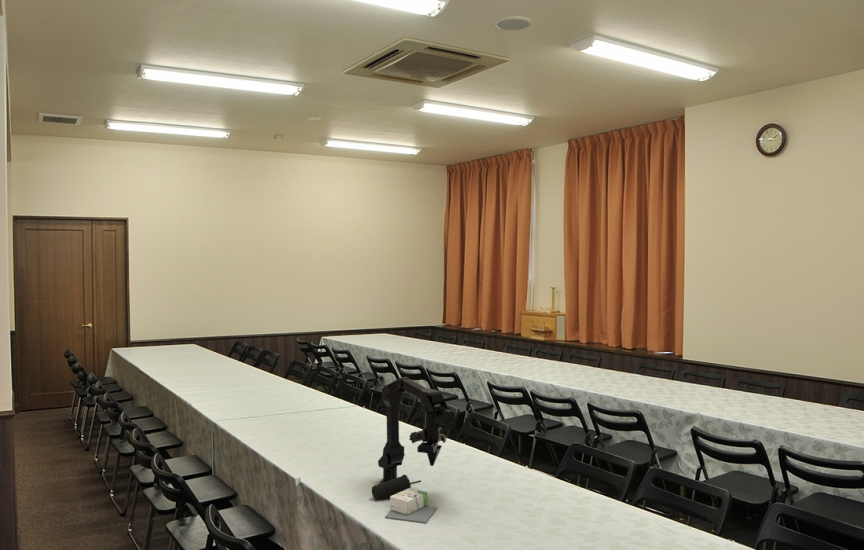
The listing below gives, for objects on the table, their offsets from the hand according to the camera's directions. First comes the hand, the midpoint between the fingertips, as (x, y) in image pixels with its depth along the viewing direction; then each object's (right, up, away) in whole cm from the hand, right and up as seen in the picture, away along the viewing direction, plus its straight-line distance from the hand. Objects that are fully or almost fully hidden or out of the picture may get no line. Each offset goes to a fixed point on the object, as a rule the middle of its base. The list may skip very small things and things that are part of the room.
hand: (431, 465), depth 241 cm
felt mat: (-7, -13, -15) cm, 21 cm away
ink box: (-5, -10, -6) cm, 12 cm away
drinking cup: (-22, -10, -2) cm, 24 cm away
